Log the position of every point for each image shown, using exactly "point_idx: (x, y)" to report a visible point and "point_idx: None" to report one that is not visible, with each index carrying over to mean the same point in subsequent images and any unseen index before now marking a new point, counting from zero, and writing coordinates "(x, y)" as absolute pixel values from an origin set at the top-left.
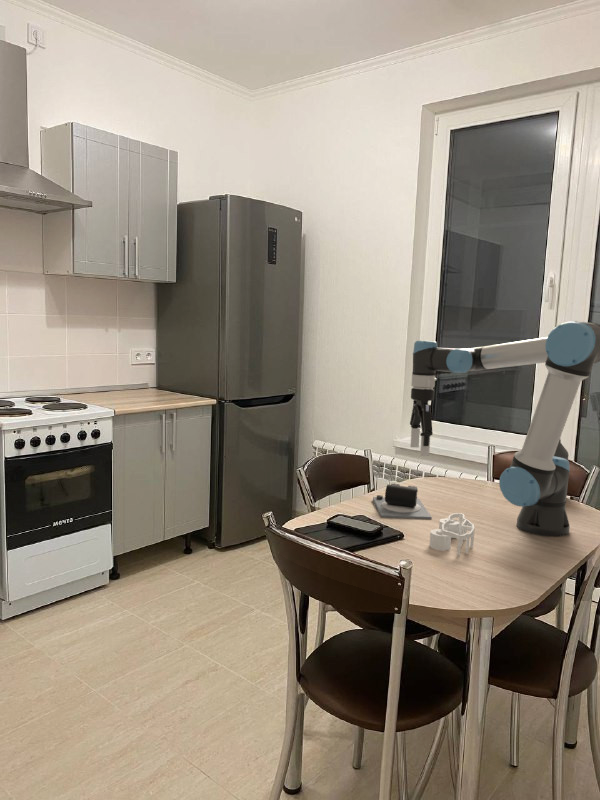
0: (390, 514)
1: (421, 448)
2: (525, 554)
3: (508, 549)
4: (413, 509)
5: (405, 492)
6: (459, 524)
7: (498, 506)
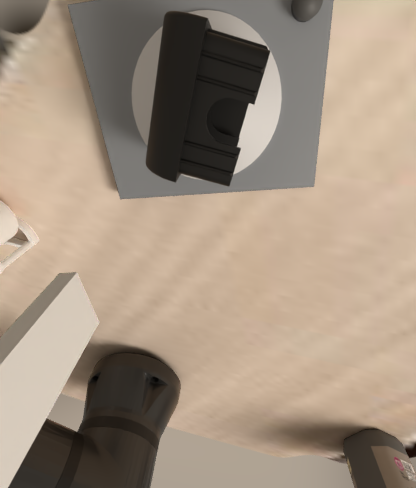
0: (91, 50)
1: (18, 320)
2: (6, 325)
3: (15, 309)
4: None
5: (154, 124)
6: (9, 255)
7: (288, 357)
